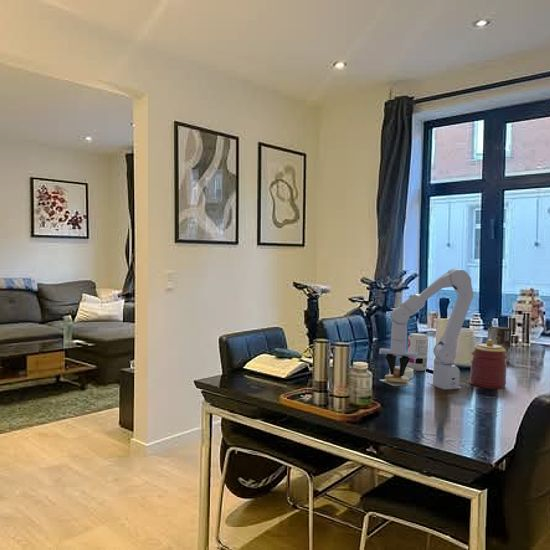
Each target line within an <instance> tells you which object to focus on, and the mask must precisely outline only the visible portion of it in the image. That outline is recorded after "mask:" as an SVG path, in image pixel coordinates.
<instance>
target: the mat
mask: <svg viewBox="0 0 550 550" xmlns="http://www.w3.org/2000/svg"><path fill="white" fill-rule="evenodd" d="M379 381H380V382H382V383H385V384H388V385H390V386H393V387H398V386H399V387H401V386H413V385H416V384H415V383H413V382H410V381H408V382H393V381H389V380H386V379H385V378H384V379H381V378H380V379H379Z"/></svg>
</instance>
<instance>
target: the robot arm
mask: <svg viewBox="0 0 550 550" xmlns="http://www.w3.org/2000/svg"><path fill="white" fill-rule="evenodd" d="M444 288H453V289H454V291H455V293H456V294H457V298H456V301H455V302H454V306H453V309H452V311H451V314H450V316H449V319H448V321H447V324H446V327H445V330H444V332H443V334H442V336H441V337H440V338H439V341H438V342H437V344H436V345H434V347H433V354H434V356H435V358H434V359H433V372H432V381H429V382H427V384H429V385H431V386H434V387H437V388H439V389H442V390H455V389H457V390H458V389H461V388H462V387H461V386H460V378H461V376H460V375H461V371H460V368H459V367H458V366H456V365H455V359H456V358H457V352H456V350H457V346H458V338H459V335H460V333H461V330H462V327H463V324H464V322H465V321H466V320H465V319H466V316H467V314H468V312H469V309H470V307H471V304H472V301H473V298H474V290H473V285H472V277H471V276H470V274H469V273H468V272H467V271H466V270H464V269H459V268H458V269H457V268H452V269H450V270H449V269H448V271H447V272H445V273H443V274H442V275H440V276H439V277H438V278H436V279H435V281H433V282H431V284H430V285H428V286H427V287H426V288H424V289H423V291H421V292H420V293H414V294H410V295H408V299H406V300H405V301H404V302H402V303H399V304H398V307H395V308H393V310H392V311H391V313H390V317H391V319H392V322H391V329H390V331H391V332H390V334H391V336H390V337H391V338H390V348H384V347H380V348H379V351H378V355H386V356H385V360H386V362H387V364H388V367H389V368H390V373H391V375H393V368H395V366H396V361H397V357H399V366H400V376H404V372H405V369H406V367H407V364H408V362H409V361H410V358H413V359H417V358H418V353H413V352H409V351H408V350H407V344H408V338H407V336H408V321H409V320H410V317H412V316H414V315H415V314H416V313H417V312H419V311H420V310H421V309H422V308H423V307H425V305H426V301H427V300H428V299H430V298H431V297H433V296H434V295H435V294H437V293H438V292H440V291H441V290H442V289H444Z"/></svg>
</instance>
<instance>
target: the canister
mask: <svg viewBox="0 0 550 550" xmlns="http://www.w3.org/2000/svg"><path fill="white" fill-rule="evenodd" d="M473 348H474V350H473V351H470V353H471V355H472V359H471V360H470V375H469V382H470V384H471V385H473V386H475V387H479V388H482V389H483V388H484V389H490V390H500V389H504V388H506V385H507V368H508V367H507V366H508V364H507V362H506V359H507V358H508V356H507V355H506V354H505V353H504V352H505V351H506V350H505V349H504V348H502V346H499V345H494V342H493V340H491V339H489V340H486V342H485V343H478V344H476V345H474V346H473Z"/></svg>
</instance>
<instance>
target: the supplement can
mask: <svg viewBox="0 0 550 550" xmlns="http://www.w3.org/2000/svg"><path fill="white" fill-rule="evenodd" d="M428 349H429V338H428V334H426V333H421V332H411V333H410V334H409V335H408V338H407V351H409V352H413V353H418V358H417V359H413V358H410V361H409V362H408V364H407V366H406V367H409V368H412V369H414V372H415V371H416V372H420V371H421V372H423V371H425V370H426V369H427V368H428Z"/></svg>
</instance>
